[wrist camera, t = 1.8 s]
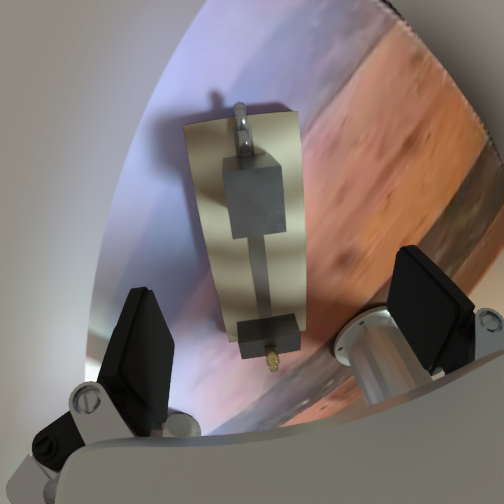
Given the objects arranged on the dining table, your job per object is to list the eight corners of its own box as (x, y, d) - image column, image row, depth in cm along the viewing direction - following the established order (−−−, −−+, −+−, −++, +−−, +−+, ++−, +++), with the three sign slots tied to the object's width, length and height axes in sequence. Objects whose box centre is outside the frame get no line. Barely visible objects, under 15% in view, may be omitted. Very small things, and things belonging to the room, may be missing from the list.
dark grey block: (215, 105, 21) (211, 103, 15) (262, 99, 21) (274, 95, 16) (230, 210, 26) (232, 239, 20) (273, 204, 26) (286, 231, 20)
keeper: (236, 321, 33) (239, 357, 28) (294, 312, 33) (304, 346, 28) (241, 343, 35) (244, 378, 30) (294, 335, 35) (304, 368, 30)
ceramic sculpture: (214, 454, 40) (187, 466, 46) (214, 415, 47) (189, 434, 53) (157, 442, 36) (141, 455, 43) (162, 402, 44) (146, 423, 50)
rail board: (185, 124, 23) (182, 125, 21) (293, 111, 23) (297, 111, 22) (228, 334, 36) (229, 342, 34) (303, 322, 36) (306, 330, 34)
